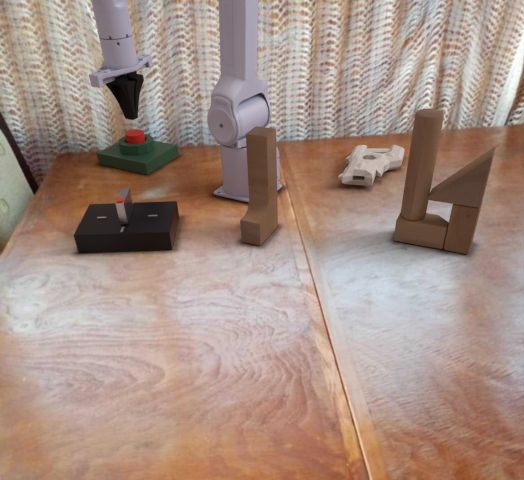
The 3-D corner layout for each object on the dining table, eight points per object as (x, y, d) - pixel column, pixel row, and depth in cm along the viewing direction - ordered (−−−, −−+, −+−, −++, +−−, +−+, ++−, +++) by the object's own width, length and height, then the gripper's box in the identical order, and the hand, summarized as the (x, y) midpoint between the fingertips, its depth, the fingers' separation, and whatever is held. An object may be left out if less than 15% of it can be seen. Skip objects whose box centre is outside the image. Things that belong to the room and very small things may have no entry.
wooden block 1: (259, 222, 85) (255, 125, 75) (278, 226, 84) (276, 128, 74) (241, 242, 81) (234, 142, 71) (260, 246, 80) (256, 145, 70)
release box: (179, 155, 107) (176, 135, 104) (147, 175, 101) (143, 153, 98) (132, 146, 112) (128, 126, 109) (99, 164, 105) (94, 143, 103)
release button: (149, 140, 104) (147, 130, 103) (137, 146, 102) (135, 137, 101) (134, 137, 106) (133, 128, 104) (122, 143, 103) (120, 134, 102)
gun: (396, 173, 88) (336, 169, 91) (394, 193, 90) (335, 189, 93) (406, 139, 102) (353, 136, 104) (404, 158, 104) (352, 154, 106)
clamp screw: (126, 209, 84) (121, 186, 81) (134, 209, 84) (129, 186, 81) (120, 225, 80) (114, 201, 77) (128, 224, 80) (123, 201, 77)
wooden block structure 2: (468, 255, 76) (501, 124, 64) (392, 241, 79) (410, 115, 68) (472, 243, 78) (504, 114, 66) (398, 230, 82) (417, 106, 70)
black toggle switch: (179, 217, 87) (176, 199, 85) (172, 250, 80) (169, 231, 78) (93, 221, 88) (89, 203, 85) (78, 253, 80) (72, 234, 78)
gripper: (125, 25, 98) (139, 104, 107) (68, 43, 89) (88, 127, 98) (156, 28, 95) (167, 108, 104) (100, 47, 86) (118, 133, 95)
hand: (131, 118), depth 101 cm, fingers closed
